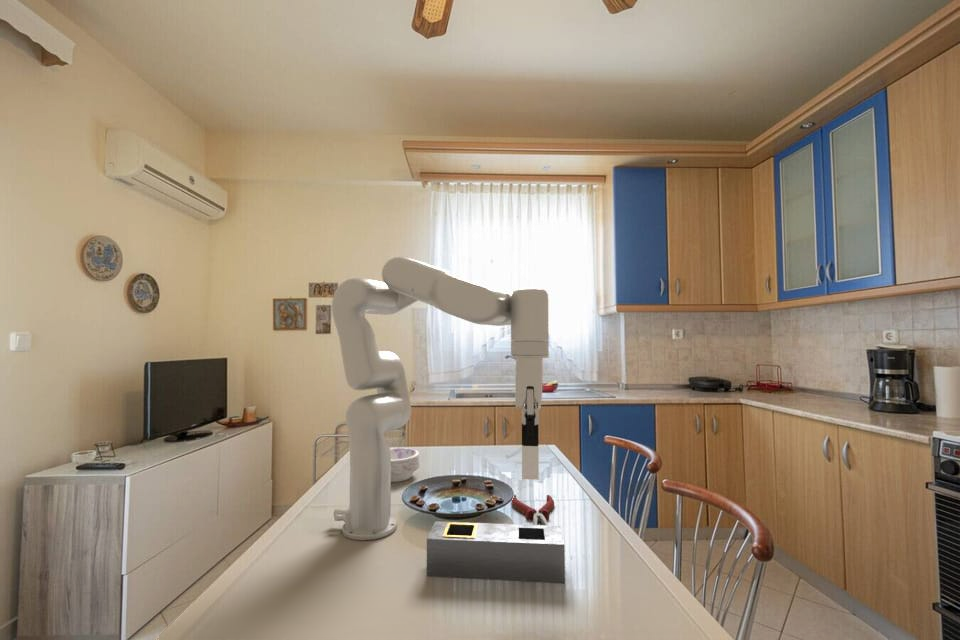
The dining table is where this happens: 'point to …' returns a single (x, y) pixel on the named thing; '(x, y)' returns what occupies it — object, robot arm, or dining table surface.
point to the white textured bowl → (403, 463)
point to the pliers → (531, 512)
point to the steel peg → (530, 460)
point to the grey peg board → (496, 552)
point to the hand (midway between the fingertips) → (529, 442)
